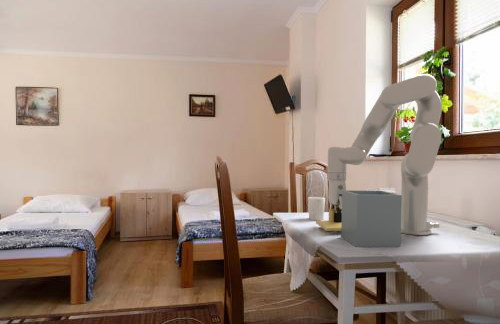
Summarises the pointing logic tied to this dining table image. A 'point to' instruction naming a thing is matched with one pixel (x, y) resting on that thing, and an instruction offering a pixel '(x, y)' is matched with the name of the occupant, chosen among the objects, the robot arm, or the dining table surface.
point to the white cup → (316, 208)
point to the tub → (371, 218)
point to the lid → (330, 223)
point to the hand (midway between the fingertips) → (336, 220)
